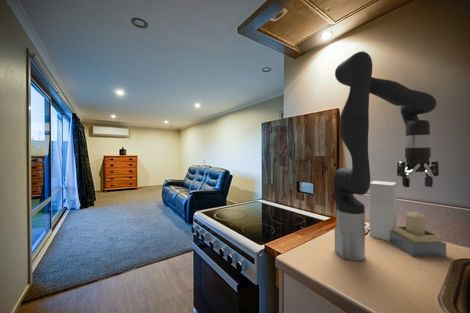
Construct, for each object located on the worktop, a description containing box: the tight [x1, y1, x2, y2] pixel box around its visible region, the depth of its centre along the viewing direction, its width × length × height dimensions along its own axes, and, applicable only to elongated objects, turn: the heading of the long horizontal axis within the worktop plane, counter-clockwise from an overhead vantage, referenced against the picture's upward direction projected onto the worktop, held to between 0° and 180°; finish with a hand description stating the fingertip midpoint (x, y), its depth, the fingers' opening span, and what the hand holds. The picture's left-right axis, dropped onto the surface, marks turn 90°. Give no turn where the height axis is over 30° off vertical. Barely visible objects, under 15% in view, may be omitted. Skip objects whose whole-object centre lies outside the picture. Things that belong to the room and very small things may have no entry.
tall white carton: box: [368, 180, 398, 242], centre depth 88 cm, size 9×9×25 cm
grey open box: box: [389, 225, 447, 258], centre depth 76 cm, size 12×11×8 cm
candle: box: [405, 210, 426, 235], centre depth 76 cm, size 6×6×10 cm
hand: (417, 186), depth 77 cm, fingers open, 8 cm apart
